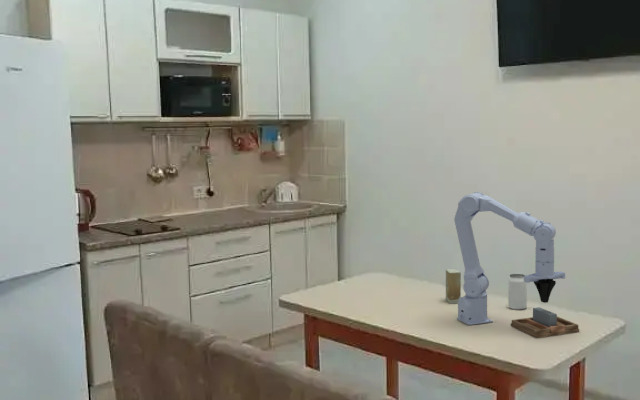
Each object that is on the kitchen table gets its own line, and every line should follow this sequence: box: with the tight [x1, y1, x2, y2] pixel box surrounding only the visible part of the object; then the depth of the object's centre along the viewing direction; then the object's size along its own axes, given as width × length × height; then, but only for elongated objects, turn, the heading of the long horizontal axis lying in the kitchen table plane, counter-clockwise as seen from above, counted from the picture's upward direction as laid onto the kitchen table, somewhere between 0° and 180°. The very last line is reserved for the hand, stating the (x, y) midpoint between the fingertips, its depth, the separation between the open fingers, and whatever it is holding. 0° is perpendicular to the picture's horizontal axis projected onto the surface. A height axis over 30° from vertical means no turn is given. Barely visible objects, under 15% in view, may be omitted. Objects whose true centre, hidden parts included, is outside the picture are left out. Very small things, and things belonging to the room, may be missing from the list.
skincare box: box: [445, 268, 462, 305], centre depth 251 cm, size 6×4×12 cm
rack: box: [510, 316, 580, 339], centre depth 215 cm, size 16×14×3 cm
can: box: [507, 273, 528, 311], centre depth 240 cm, size 6×6×12 cm
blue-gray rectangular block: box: [532, 306, 558, 328], centre depth 214 cm, size 2×9×5 cm, turn 18°
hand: (544, 301), depth 214 cm, fingers closed
